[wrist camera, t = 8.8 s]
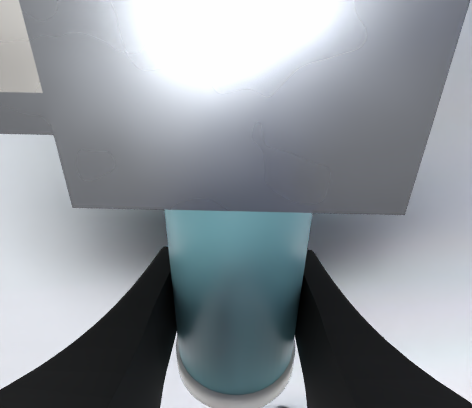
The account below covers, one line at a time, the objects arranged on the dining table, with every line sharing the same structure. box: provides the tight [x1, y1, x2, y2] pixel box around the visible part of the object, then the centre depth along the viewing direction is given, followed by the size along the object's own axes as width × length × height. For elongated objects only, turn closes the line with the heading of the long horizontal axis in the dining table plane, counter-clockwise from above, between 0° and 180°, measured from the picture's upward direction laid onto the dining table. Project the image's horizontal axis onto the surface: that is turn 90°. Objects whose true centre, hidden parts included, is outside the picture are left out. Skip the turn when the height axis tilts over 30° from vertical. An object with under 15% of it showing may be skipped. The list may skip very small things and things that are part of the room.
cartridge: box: [164, 210, 312, 408], centre depth 10 cm, size 13×4×4 cm, turn 179°
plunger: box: [0, 0, 43, 93], centre depth 8 cm, size 3×3×4 cm
